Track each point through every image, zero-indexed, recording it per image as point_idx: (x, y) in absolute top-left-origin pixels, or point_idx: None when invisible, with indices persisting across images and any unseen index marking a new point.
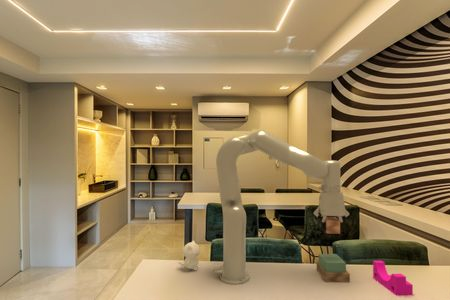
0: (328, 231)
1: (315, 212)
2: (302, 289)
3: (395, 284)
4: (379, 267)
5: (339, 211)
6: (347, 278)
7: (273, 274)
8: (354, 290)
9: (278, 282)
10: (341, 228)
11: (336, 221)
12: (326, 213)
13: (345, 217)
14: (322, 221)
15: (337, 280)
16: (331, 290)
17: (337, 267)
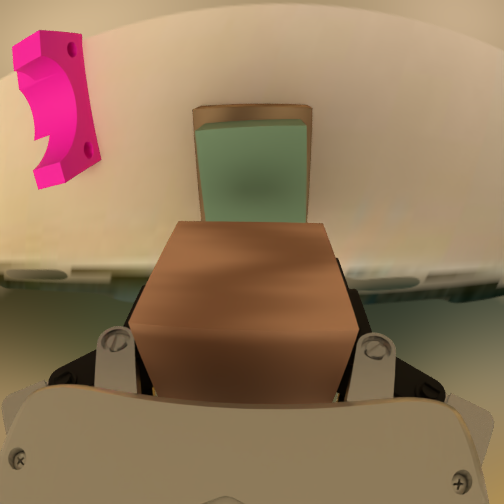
0: (308, 232)
1: (484, 438)
2: (411, 57)
3: (58, 35)
4: (59, 154)
5: (82, 468)
6: (206, 106)
7: (467, 182)
8: (206, 43)
9: (470, 121)
10: (144, 285)
11: (189, 317)
12: (394, 441)
13: (54, 375)
14: (383, 343)
15: (252, 104)
16: (303, 38)
17: (244, 123)
